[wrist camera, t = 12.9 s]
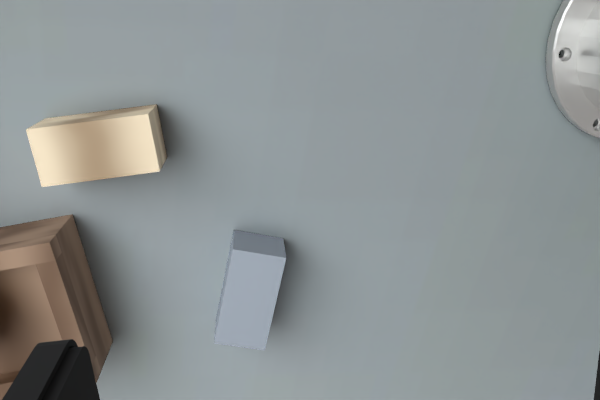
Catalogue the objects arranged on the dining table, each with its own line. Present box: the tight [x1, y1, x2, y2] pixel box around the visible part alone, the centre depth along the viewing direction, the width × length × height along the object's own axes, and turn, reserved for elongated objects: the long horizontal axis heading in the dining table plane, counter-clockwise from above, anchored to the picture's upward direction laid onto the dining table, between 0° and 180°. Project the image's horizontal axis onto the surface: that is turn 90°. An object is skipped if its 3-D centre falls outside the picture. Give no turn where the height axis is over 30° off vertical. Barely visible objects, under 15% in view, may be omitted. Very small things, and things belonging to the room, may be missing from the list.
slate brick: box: [214, 230, 286, 350], centre depth 39 cm, size 7×4×4 cm, turn 168°
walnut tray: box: [0, 215, 113, 400], centre depth 37 cm, size 10×10×5 cm
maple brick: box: [26, 104, 167, 187], centre depth 35 cm, size 7×4×4 cm, turn 97°
